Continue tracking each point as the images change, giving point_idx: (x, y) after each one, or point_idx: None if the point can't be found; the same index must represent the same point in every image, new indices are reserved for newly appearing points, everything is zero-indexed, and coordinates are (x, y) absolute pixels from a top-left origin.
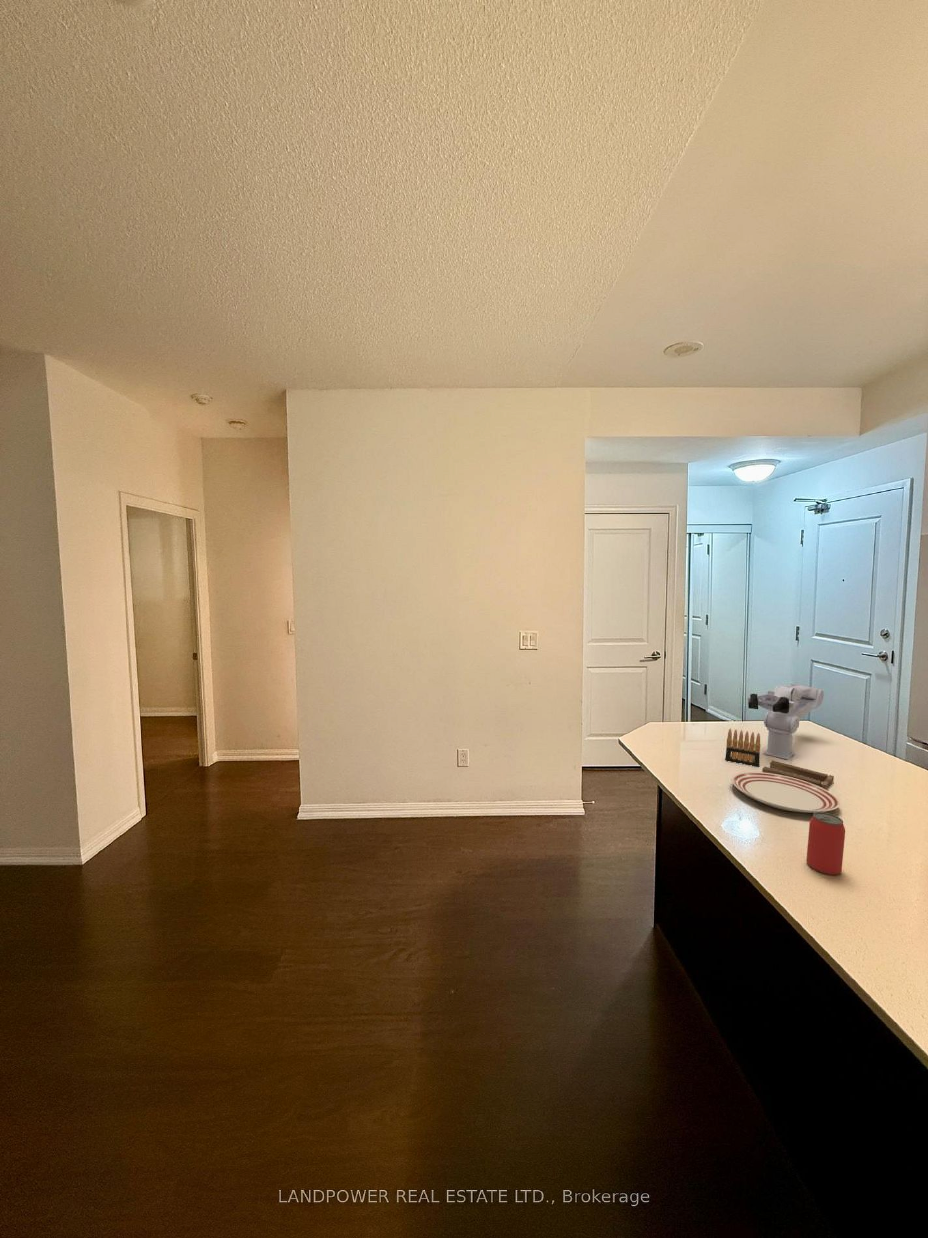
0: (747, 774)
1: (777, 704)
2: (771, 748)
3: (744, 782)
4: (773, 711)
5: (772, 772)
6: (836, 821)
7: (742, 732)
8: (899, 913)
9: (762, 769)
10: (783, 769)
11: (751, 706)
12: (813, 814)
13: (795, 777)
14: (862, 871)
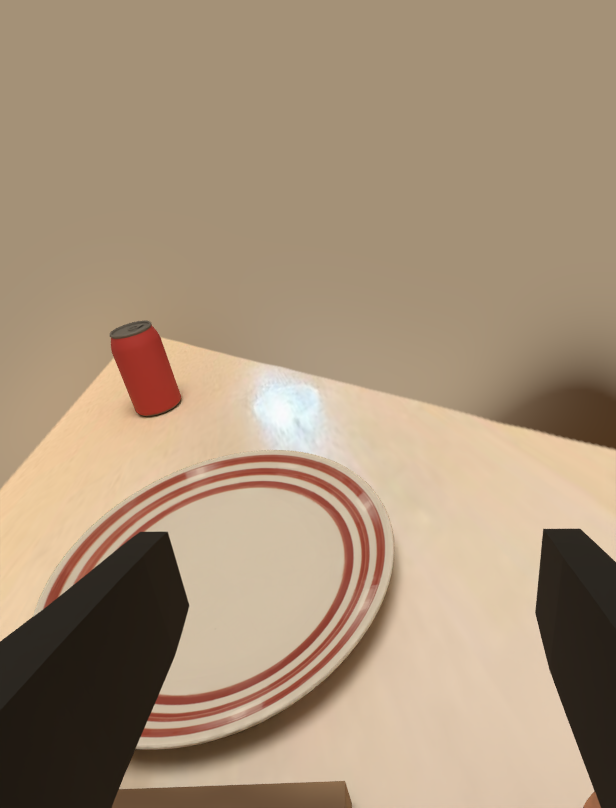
0: (366, 604)
1: (73, 588)
2: None
3: (353, 554)
4: (178, 603)
5: (285, 787)
6: (119, 332)
7: (590, 802)
8: (92, 398)
9: (345, 785)
10: None
11: (551, 627)
12: (150, 323)
13: (157, 788)
14: (104, 431)
